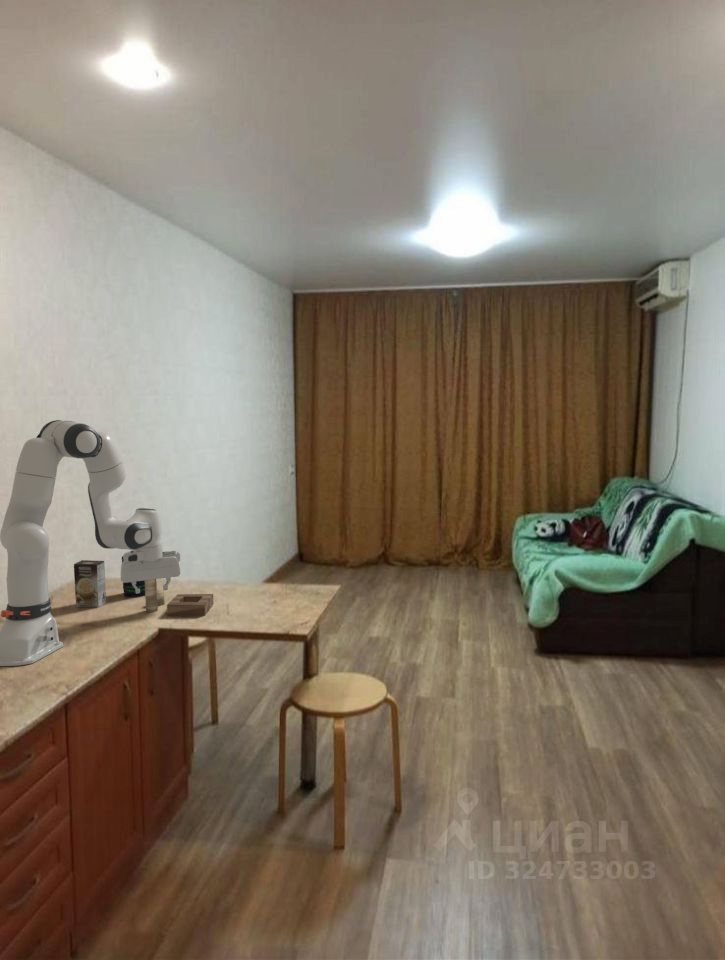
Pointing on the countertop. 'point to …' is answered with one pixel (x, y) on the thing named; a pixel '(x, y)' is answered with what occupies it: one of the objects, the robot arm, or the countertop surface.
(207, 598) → the walnut collar
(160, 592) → the short pin
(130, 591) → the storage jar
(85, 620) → the countertop surface
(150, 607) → the long pin
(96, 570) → the coffee box
